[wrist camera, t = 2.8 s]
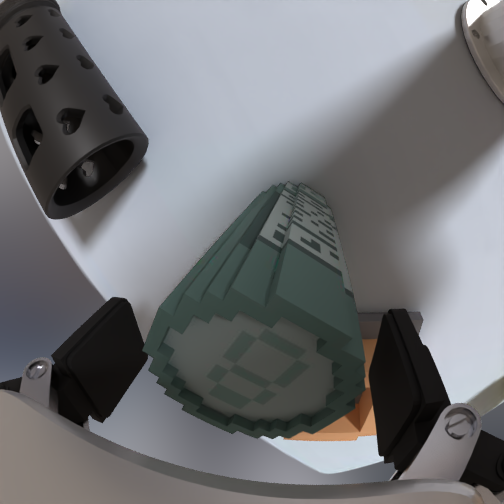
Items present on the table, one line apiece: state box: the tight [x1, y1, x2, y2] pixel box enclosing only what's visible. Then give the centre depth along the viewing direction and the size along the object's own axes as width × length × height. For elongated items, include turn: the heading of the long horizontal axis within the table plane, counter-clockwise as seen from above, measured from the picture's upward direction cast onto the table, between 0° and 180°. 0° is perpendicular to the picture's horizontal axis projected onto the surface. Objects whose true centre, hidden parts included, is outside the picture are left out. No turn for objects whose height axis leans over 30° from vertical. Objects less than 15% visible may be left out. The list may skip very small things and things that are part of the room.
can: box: [142, 181, 366, 439], centre depth 13 cm, size 6×6×15 cm
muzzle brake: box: [0, 0, 149, 219], centre depth 14 cm, size 10×28×10 cm, turn 36°
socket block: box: [284, 312, 423, 441], centre depth 23 cm, size 16×16×5 cm
